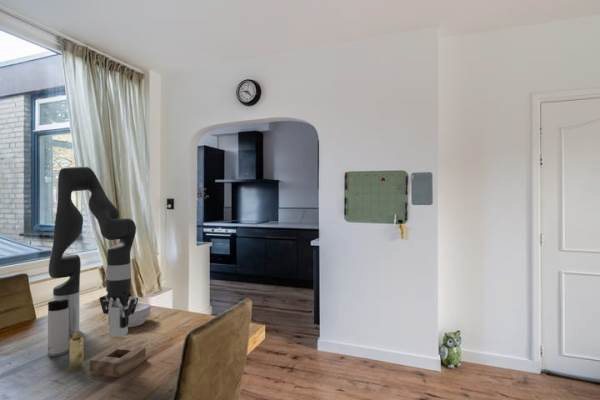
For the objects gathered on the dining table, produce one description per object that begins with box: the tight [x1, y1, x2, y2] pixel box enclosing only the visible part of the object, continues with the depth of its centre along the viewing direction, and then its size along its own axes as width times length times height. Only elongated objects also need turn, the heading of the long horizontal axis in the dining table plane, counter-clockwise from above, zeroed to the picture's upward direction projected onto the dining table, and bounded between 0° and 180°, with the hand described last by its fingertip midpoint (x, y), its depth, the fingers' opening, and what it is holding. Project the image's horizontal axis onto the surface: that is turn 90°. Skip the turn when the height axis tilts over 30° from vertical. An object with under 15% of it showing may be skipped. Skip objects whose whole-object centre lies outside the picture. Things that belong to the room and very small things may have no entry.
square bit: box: [108, 300, 129, 338], centre depth 114 cm, size 4×4×12 cm
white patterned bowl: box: [128, 301, 151, 328], centre depth 153 cm, size 15×15×8 cm
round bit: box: [68, 331, 85, 372], centre depth 113 cm, size 4×4×12 cm
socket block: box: [89, 344, 147, 378], centre depth 114 cm, size 12×12×4 cm
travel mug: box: [47, 299, 70, 358], centre depth 124 cm, size 6×7×20 cm
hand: (118, 326), depth 114 cm, fingers closed on square bit, 4 cm apart
